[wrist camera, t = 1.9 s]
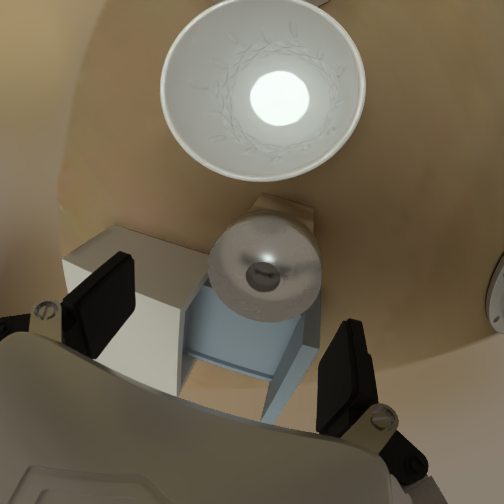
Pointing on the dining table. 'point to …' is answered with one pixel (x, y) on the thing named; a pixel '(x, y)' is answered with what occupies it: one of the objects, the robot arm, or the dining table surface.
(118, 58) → the dining table surface
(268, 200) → the beige block
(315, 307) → the blue-grey open box
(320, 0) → the jar
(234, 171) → the white cup
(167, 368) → the housing
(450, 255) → the dining table surface
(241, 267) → the disc
